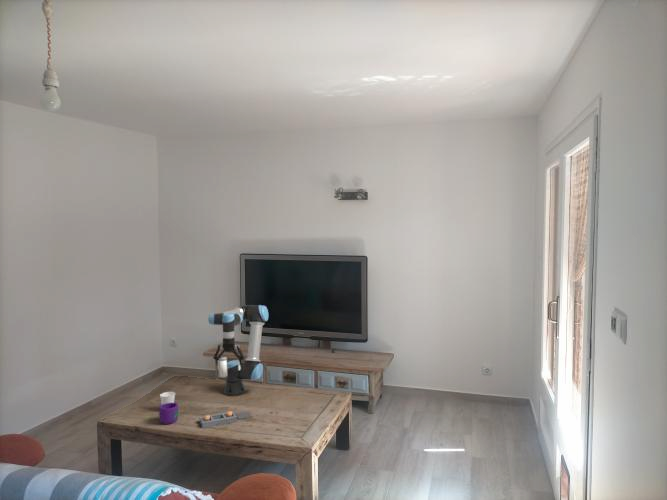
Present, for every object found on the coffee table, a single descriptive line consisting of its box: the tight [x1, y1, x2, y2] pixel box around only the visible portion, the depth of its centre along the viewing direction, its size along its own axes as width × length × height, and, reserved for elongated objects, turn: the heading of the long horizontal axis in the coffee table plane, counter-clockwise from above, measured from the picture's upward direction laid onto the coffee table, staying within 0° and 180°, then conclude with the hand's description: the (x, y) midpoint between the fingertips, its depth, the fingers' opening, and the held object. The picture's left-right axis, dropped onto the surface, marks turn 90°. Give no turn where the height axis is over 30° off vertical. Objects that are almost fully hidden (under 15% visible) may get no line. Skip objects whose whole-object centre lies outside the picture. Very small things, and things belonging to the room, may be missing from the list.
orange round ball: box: [203, 414, 211, 421], centre depth 299 cm, size 4×4×3 cm
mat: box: [234, 411, 254, 420], centre depth 311 cm, size 9×9×1 cm
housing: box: [198, 410, 238, 429], centre depth 302 cm, size 21×11×3 cm, turn 116°
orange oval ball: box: [225, 410, 233, 417], centre depth 305 cm, size 4×4×3 cm
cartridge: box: [218, 355, 228, 378], centre depth 315 cm, size 5×5×12 cm
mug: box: [158, 401, 179, 425], centre depth 306 cm, size 17×11×10 cm, turn 171°
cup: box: [159, 391, 176, 405], centre depth 321 cm, size 10×10×11 cm
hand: (229, 369), depth 315 cm, fingers open, 13 cm apart
